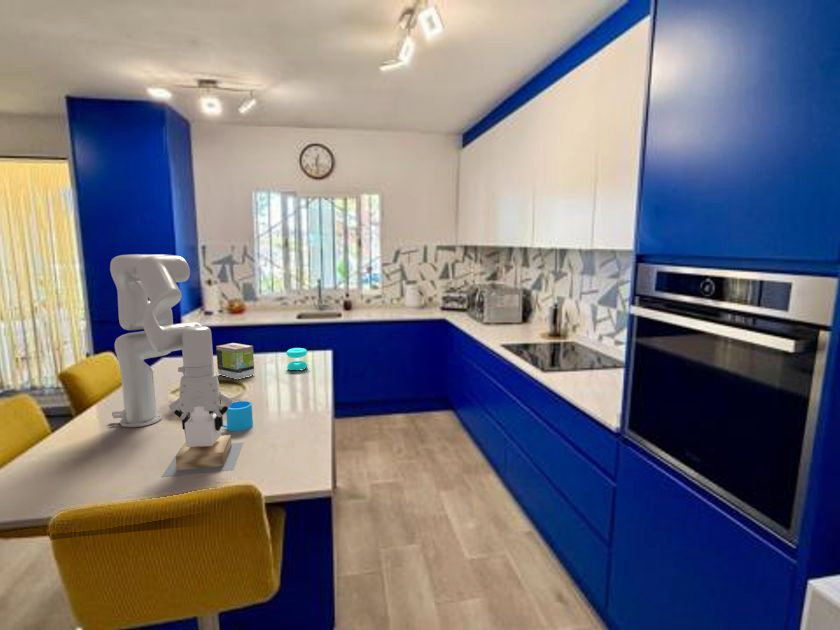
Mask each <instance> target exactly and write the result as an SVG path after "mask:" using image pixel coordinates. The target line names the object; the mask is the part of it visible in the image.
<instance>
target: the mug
mask: <svg viewBox="0 0 840 630" xmlns="http://www.w3.org/2000/svg"><path fill="white" fill-rule="evenodd" d="M225 414H226V415H225V416H226V424H224V423H223V426H222V427H221V428H226V430H228V431H231V432H242V431H245V430H249V429H251V428H254V420H253V419H254V418H253V405H252V402H251V401H247V400H237V401H234V402H232V404H231V405H230V407H229V408H228V410H227V411H226V412H225Z"/></svg>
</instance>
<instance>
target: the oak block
mask: <svg viewBox="0 0 840 630" xmlns="http://www.w3.org/2000/svg"><path fill="white" fill-rule="evenodd" d="M231 443H232V435H231V434H225V435H221V436H220V437H219V438H218V440H217V441H216V442H215V443H214V444H213V446H202V447H186V441H185V442H184V444H182V446H181V447H180V448H181V449H180V448H179V450H180V451H179V450H178V451H179V452H178V451H177V453H178V454H177V453H176V454H177V455H176V454H175V456H176V466H177V470H187V469H197V468H207V467H217V466H224V464H225V462H226V460H227V457H228V455H229V452H230V450H231V448H232V445H231Z"/></svg>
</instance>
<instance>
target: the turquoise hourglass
mask: <svg viewBox="0 0 840 630" xmlns="http://www.w3.org/2000/svg"><path fill="white" fill-rule="evenodd" d="M285 354H286V356H287V357H289V358H291V359H300V358H303V357H305V356H307V355H308V351H307V349H306V348H301V347H293V348H290V349H288V350H287V351H286V353H285ZM308 365H309V364H308V363H307V362H306V361H303V360H294V361H291V362H290V361H289V363H288V364H287V366H286V367H287V370H288V369H289V371H290V370H300V369H304V368H306V367H307V366H308ZM307 368H308V367H307ZM307 368H306V369H307Z"/></svg>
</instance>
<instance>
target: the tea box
mask: <svg viewBox="0 0 840 630" xmlns="http://www.w3.org/2000/svg"><path fill="white" fill-rule="evenodd" d="M215 347H216V361H217V362H216V363H217V375H218V374H221V375H225V376H228V377H232V378H236V379H239V378H243V377H246V376H250V375H253V374H254V375H255V362H254V361H255V358H254V346H253V345H249V344H244V343H243V344H242V343H236V342H231V343H226V344H220V345H216V346H215Z"/></svg>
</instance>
